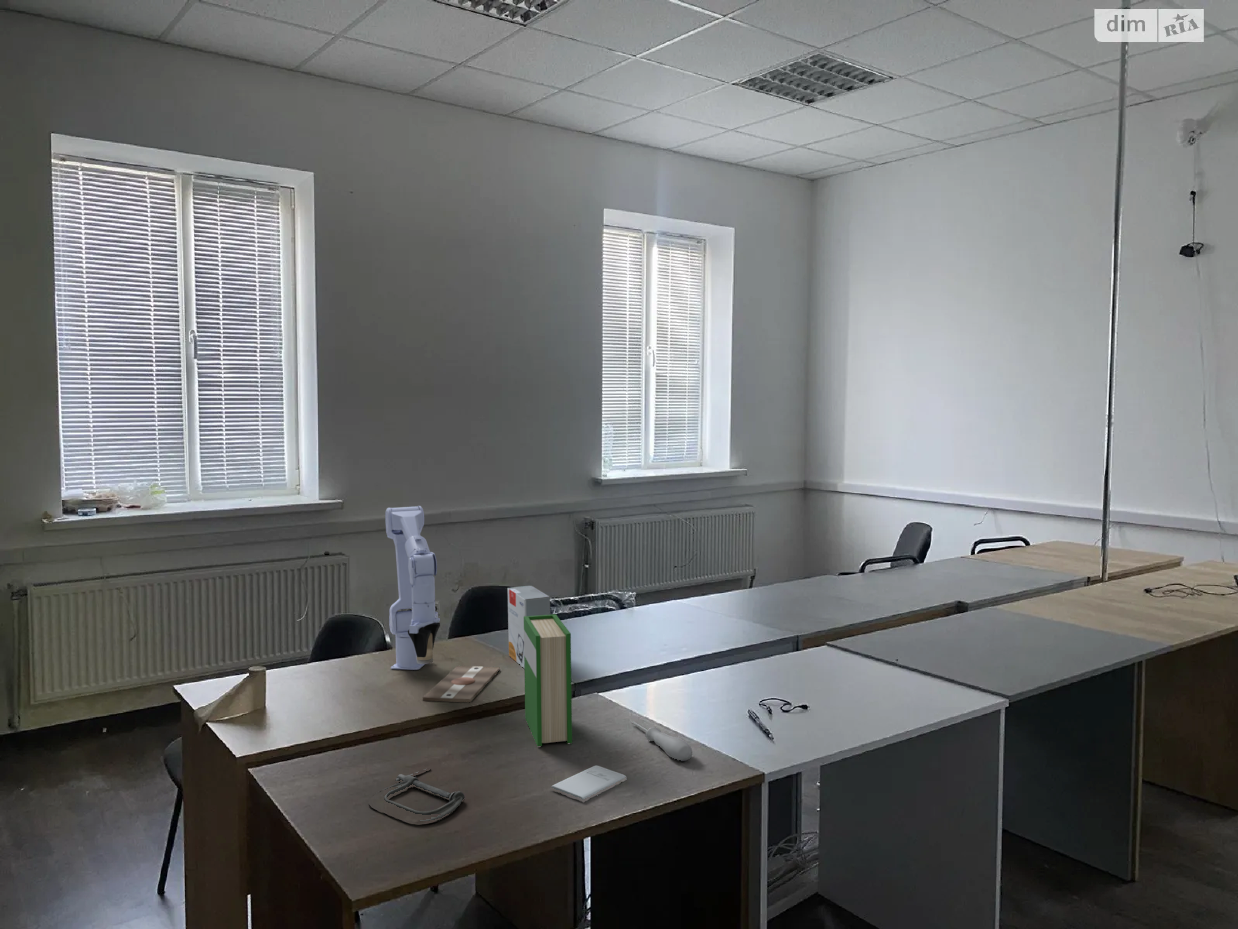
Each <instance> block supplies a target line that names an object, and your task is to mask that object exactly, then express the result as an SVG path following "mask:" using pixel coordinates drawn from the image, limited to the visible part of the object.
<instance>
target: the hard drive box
mask: <svg viewBox="0 0 1238 929" xmlns="http://www.w3.org/2000/svg"><path fill="white" fill-rule="evenodd" d="M537 615H551V597H550V596H549V595H548V594H546V593H544V592H543V591H541V590H539V589H538V588H536V587H534V586H533V585H525V586H524V585H523V586H515V587H512V586H511V587H507V621H508V622H507V624H508V625H507V626H508V627H507V628H508V630H507V631H508V633H507V634H508V636H507V637H508V656H509V657H510V658H511V659H512V660H513V661H515V662H516V663H517V664H518V665H519V664H520V665H519V666H520V667H521V668H522V667H523V669H524V616H537Z"/></svg>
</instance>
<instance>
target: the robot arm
mask: <svg viewBox="0 0 1238 929" xmlns="http://www.w3.org/2000/svg"><path fill="white" fill-rule="evenodd" d="M384 515H385V516H384V517H385V518H384V520H385V532H386V533H385V534H386V535H387V536H386V537H387V538H388V539H391V540H393V544H394V548H395V560H396V562H395V563H396V575H397V576H396V577H397V590H398V591H397V592H398V599H397V600H396V601H395V602H393V603H392V604H391V605H390V607H389V609H388V611H389V618H388V624H389V631H390V633H391V634H392V635H395V636H394V637H395V661H396V662H395V663H394V664H393V665H391V666H390V670H406V671H407V670H412V671H413V670H414V671H418V670H420V669H421V668H422V667H423V666H425V665H426V664H418V663H417V657H426V654H427V644H428V639H429V636H430V633H432V647H433V648H434V647H435V646H434V645H435V641H436V637H437V634H438V630H439V628H440V627H441V618H440V617H439V612H438V611H436V583H435V577H436V576H437V573H438V561H437V557H436V554H435V552H433V551H431V550H430V546H429V545H428V542H427V539H426V538H425V537H424V536H422V535H421V533H422V531H423V528H424V525H425V512H424V508H423V507H422V506H421V505H417V506H402V507H400V506H399V507H387V508H386V510H385V513H384ZM405 609H406V610H405ZM407 609H408V610H407ZM409 609H410V610H409Z"/></svg>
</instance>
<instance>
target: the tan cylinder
mask: <svg viewBox="0 0 1238 929" xmlns="http://www.w3.org/2000/svg"><path fill="white" fill-rule="evenodd" d="M433 652H434V647H432V633H430V636H429V639H428V644H427V654H426V657H417V663H418V664H425V665H428V664H432V663H433V661H434V659H433V658H434V657H433V656H434V655H433V654H434V653H433Z"/></svg>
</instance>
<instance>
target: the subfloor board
mask: <svg viewBox="0 0 1238 929" xmlns="http://www.w3.org/2000/svg"><path fill="white" fill-rule="evenodd" d="M498 671H499V672H500V671H501V668H500V667H498V666H497V667H494V666H482V665H481V666H479V665H478V666H477V665H472V666H469V665H467V666H466V665H456V666H455V667H454V668H453V669H452V670H451V671H450V672H449V673H448V674H446V675H445V676H444V677H443V678H441V680H440V681H439V682H438V683H437V684H435V685H434V686H433V687H432V688H431V689H430V690H428V692H427V693H425V694H424V695H423V696H422V702H423V701H425V702H426V701H427V702H449V703H450V702H452V703H469V702H470V703H471V702H472V701H473V700H474V699H475V698H476V697H477V696H478V694H479V693H480V692H482V691H483V689H484V688H485V687H486V686H487V685H488V684H489V683H490V682H491V681H492V679H493V678H494V677H495V676H496V675H497V674H498V673H499V672H498ZM497 672H498V673H497ZM495 674H496V675H495ZM489 681H490V682H489ZM488 682H489V683H488ZM487 683H488V684H487ZM486 684H487V685H486ZM485 685H486V686H485ZM476 695H477V696H476Z"/></svg>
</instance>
